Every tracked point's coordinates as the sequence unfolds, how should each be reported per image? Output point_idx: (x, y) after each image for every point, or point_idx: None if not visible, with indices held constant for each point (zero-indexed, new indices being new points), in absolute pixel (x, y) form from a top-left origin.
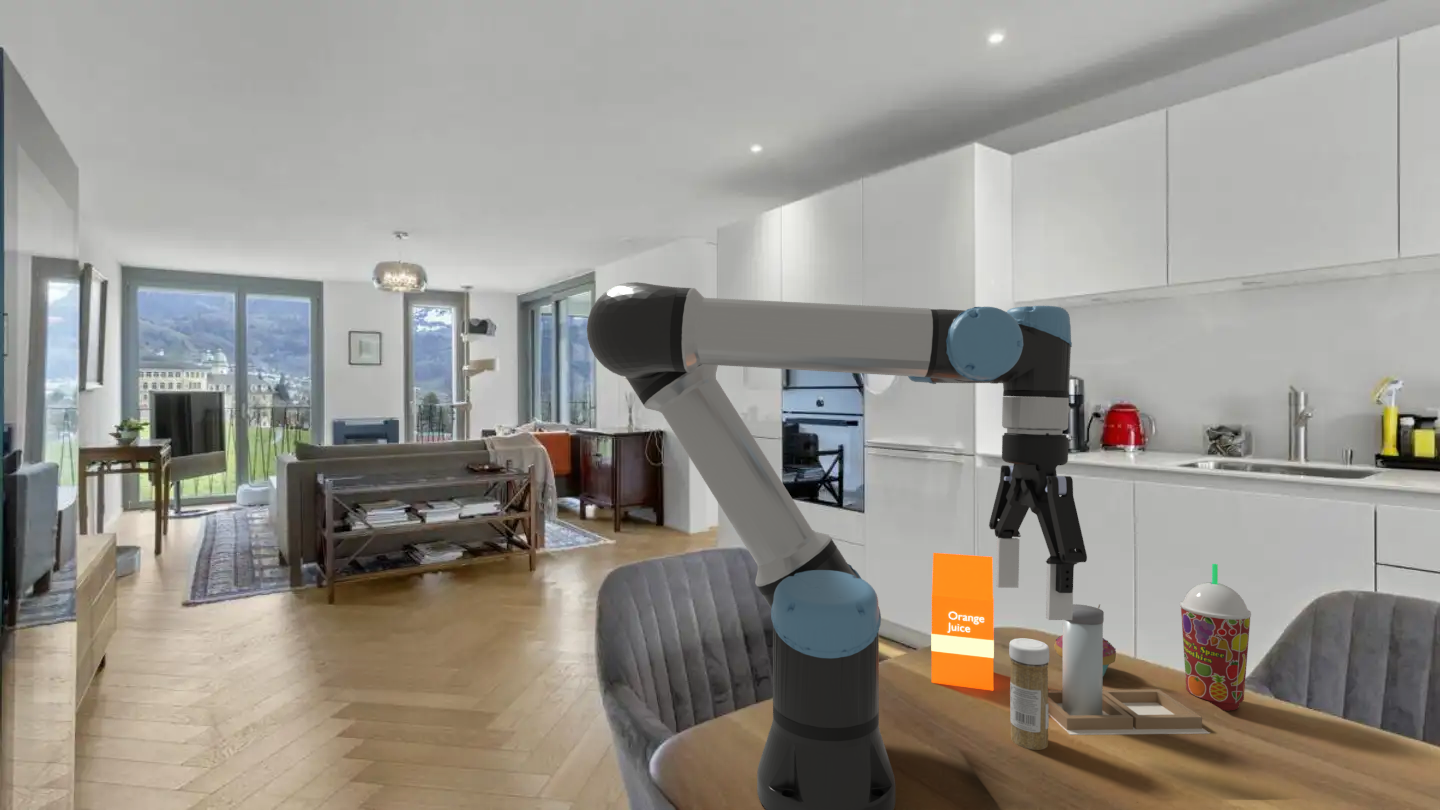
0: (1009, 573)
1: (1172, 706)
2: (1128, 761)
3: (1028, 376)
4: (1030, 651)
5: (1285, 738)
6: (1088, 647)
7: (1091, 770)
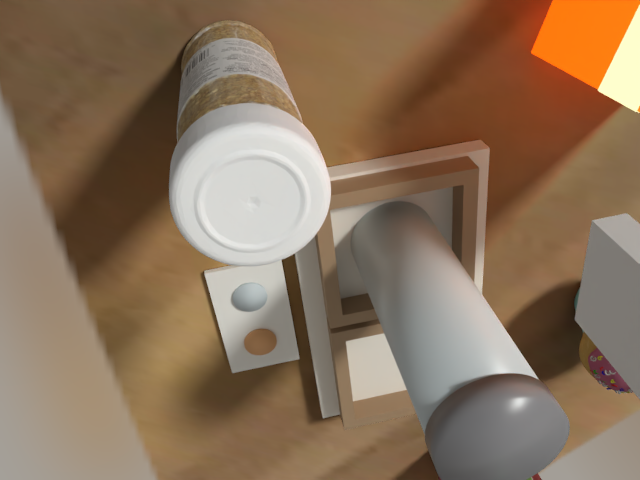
0: (636, 337)
1: (406, 400)
2: (219, 265)
3: None
4: (170, 188)
5: None
6: (402, 367)
7: (159, 184)
